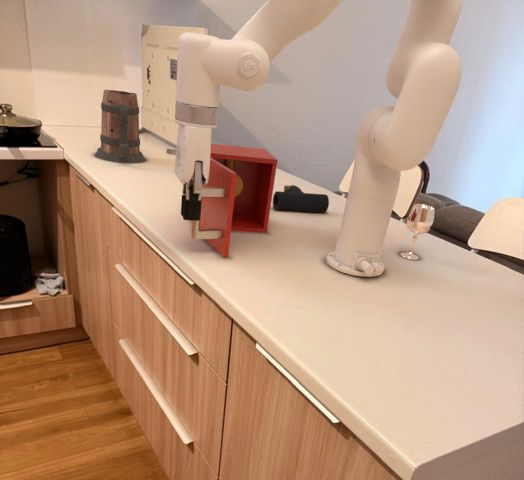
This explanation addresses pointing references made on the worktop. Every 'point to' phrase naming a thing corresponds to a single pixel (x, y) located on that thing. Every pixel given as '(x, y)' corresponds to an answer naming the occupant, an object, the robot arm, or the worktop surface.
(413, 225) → the wineglass
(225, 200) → the red cabinet door
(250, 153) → the valve cabinet
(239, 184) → the valve
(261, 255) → the worktop surface
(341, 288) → the worktop surface
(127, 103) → the tankard
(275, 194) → the pipe connector
